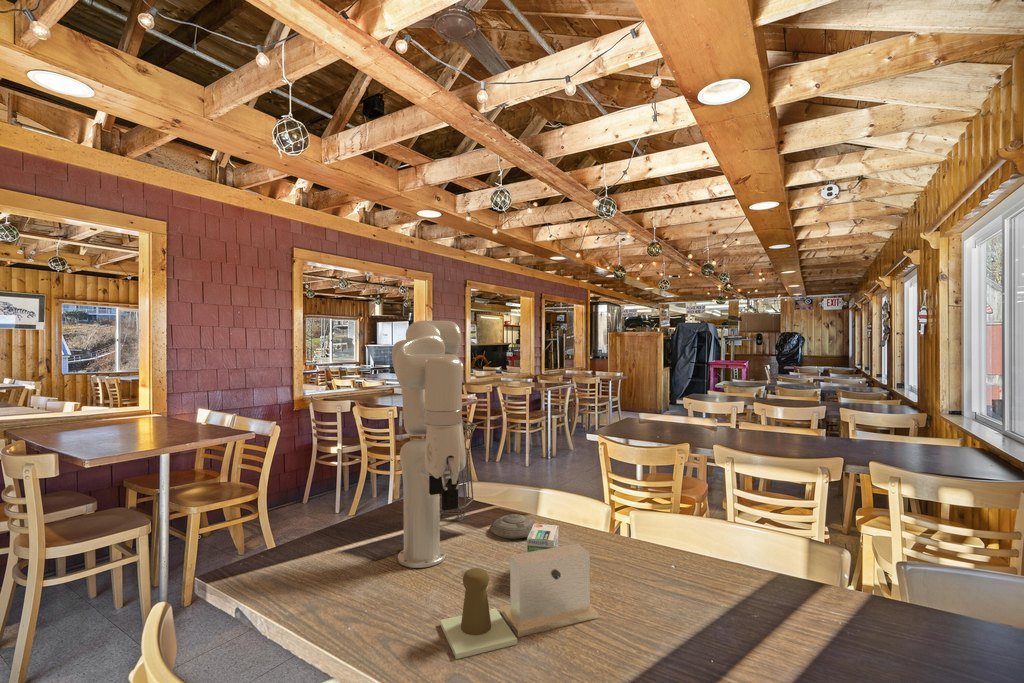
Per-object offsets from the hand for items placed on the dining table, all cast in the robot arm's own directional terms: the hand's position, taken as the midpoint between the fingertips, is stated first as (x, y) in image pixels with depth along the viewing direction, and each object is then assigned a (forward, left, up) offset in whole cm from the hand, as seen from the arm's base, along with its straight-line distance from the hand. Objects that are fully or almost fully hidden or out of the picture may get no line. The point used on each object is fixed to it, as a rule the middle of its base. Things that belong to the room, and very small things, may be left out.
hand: (443, 501), depth 101 cm
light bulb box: (-12, +28, -25) cm, 40 cm away
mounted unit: (+5, +21, -25) cm, 33 cm away
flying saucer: (-41, +32, -26) cm, 58 cm away
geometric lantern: (-63, +18, -25) cm, 70 cm away
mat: (+6, +5, -25) cm, 26 cm away
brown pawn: (+5, +5, -24) cm, 25 cm away
